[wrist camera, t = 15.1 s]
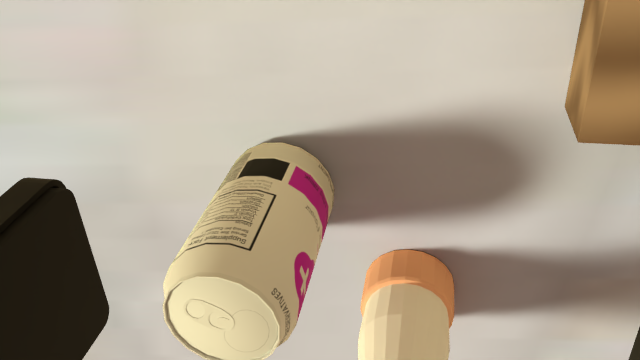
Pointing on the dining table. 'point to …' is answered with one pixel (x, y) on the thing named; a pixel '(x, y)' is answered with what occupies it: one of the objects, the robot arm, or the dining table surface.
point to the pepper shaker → (406, 308)
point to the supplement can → (250, 256)
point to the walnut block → (606, 74)
